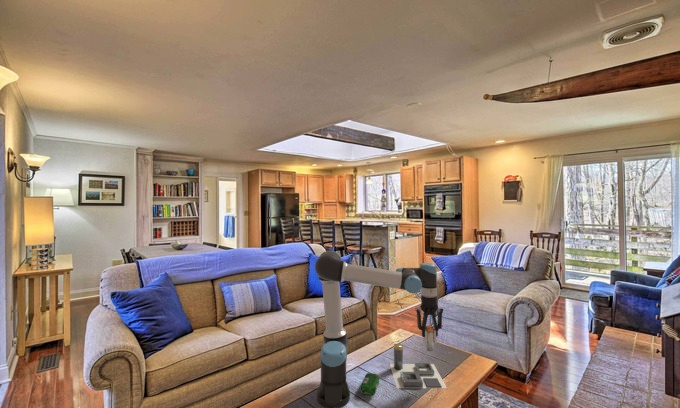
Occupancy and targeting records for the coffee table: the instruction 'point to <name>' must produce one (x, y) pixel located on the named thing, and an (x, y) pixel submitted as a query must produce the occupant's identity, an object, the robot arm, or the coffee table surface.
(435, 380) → the pin pad
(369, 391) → the snack package
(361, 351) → the coffee table surface
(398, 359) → the cylinder
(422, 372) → the socket
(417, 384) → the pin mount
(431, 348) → the lock pin
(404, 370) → the dock board
